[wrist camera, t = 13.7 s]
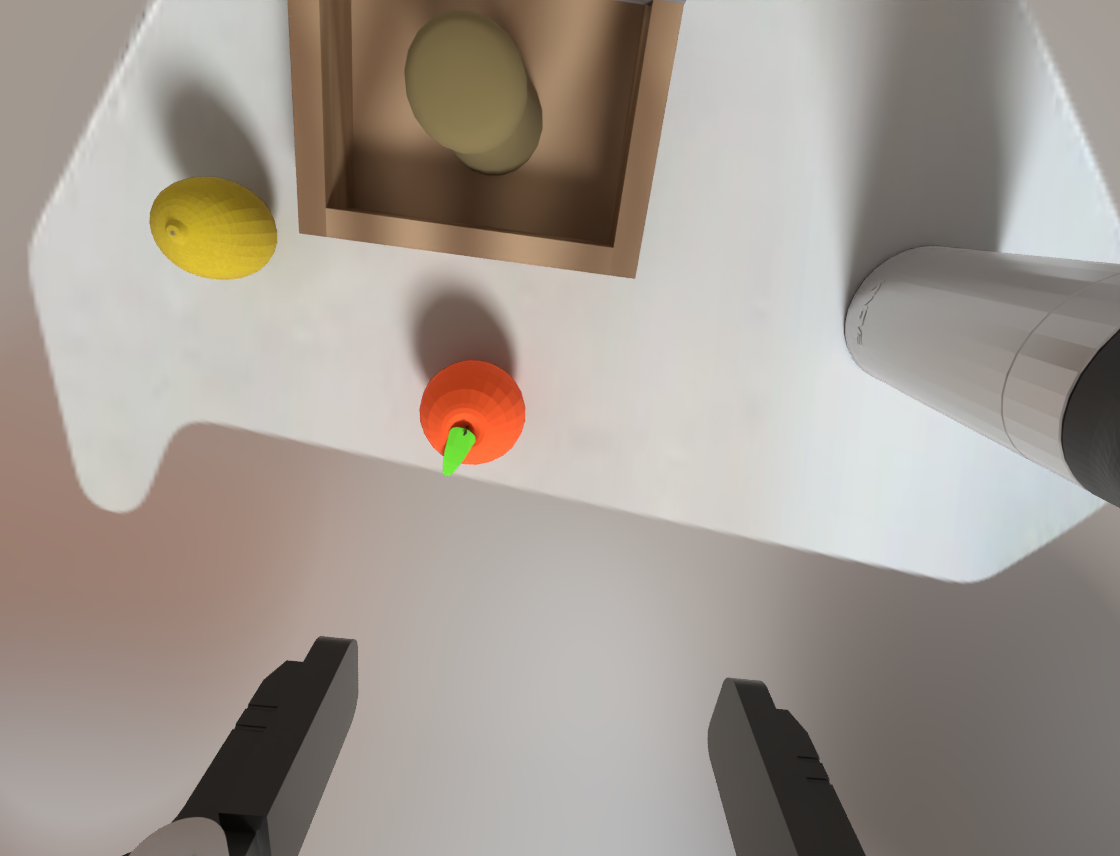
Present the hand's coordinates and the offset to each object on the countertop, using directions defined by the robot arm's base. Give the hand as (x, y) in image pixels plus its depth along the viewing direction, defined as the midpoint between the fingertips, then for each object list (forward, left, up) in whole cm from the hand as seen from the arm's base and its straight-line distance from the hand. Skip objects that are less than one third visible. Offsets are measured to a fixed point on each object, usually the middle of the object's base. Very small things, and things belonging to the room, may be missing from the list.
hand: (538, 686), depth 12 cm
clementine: (+5, +4, -28) cm, 29 cm away
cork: (+5, -14, -28) cm, 31 cm away
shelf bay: (+6, -14, -28) cm, 32 cm away
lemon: (+20, -6, -28) cm, 35 cm away
